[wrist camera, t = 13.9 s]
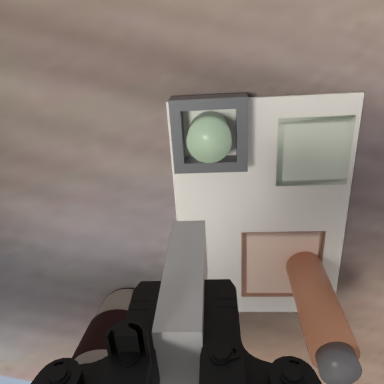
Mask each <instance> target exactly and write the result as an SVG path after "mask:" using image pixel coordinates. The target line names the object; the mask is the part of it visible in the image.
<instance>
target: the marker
mask: <svg viewBox="0 0 384 384" xmlns="http://www.w3.org/2000/svg"><path fill="white" fill-rule="evenodd" d="M286 271H287V275H288V278H289V282H290V286H291V289H292V293H293V297H294V300H295V304H296V308H297V311H298V315H299V319H300V323H301V326H302V330H303V334H304V337H305V341H306V345H307V348H308V352H309V356H310V359H311V362H312V363H313V365H314V366H315V367H317V368H318V370H319V373H320V377H321V379H322V380H323V381H324V382H326V383H327V384H352V383H354V382H355V381H357V380H358V379H359V378H360V376H361V374H362V368H361V365H360V363H359V361H358V359H359V357H360V350H359V347H358V345H357V343H356V340H355V338H354V336H353V333H352V331H351V329H350V326H349V324H348V322H347V319H346V317H345V315H344V312H343V310H342V308H341V305H340V303H339V301H338V298H337V296H336V294H335V291H334V289H333V287H332V284H331V282H330V280H329V277H328V275H327V273H326V270H325V268H324V266H323V263H322V261H321V259H320V258H319V256H317V255H316V254H314V253H312V252H299V253H296V254H294V255H293V256H291V257H290V258H289V259H288V261H287V263H286Z"/></svg>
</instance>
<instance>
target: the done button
mask: <svg viewBox="0 0 384 384" xmlns="http://www.w3.org/2000/svg"><path fill="white" fill-rule="evenodd" d="M186 143H187V148H188V150H189V152H190V154H191V155H192V156H193V157H194V158H195V159H197V160H198V161H201V162H204V163H214V162H218V161H220V160H222V159H223V158H224V157H225V156H226V155H227V154H228V152H229V151H230V148H231V144H232V138H231V129H230V125H229V122H228V121H227V119H226V118H225V117H224V116H223V115H221V114H220V113H217V112H214V111H206V112H202V113H200V114H198V115H197V116H196V117H195V118H194V119H193V120H192V122H191V124H190V127H189V131H188V135H187V139H186Z"/></svg>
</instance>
